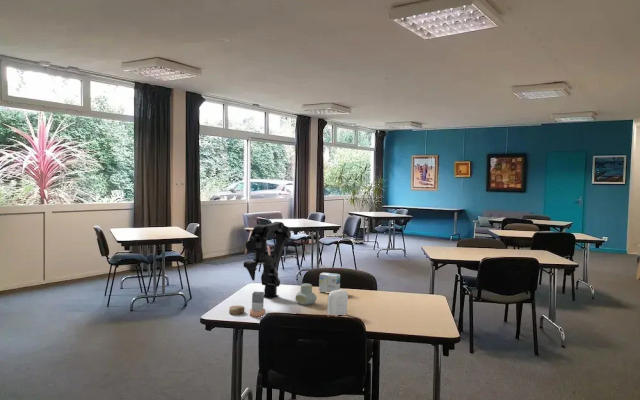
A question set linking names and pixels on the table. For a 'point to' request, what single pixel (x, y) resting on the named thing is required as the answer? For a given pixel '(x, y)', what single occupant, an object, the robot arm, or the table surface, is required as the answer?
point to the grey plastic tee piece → (306, 295)
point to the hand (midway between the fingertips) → (259, 279)
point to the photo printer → (337, 302)
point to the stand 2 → (257, 313)
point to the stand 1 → (236, 310)
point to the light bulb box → (329, 282)
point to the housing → (257, 301)
